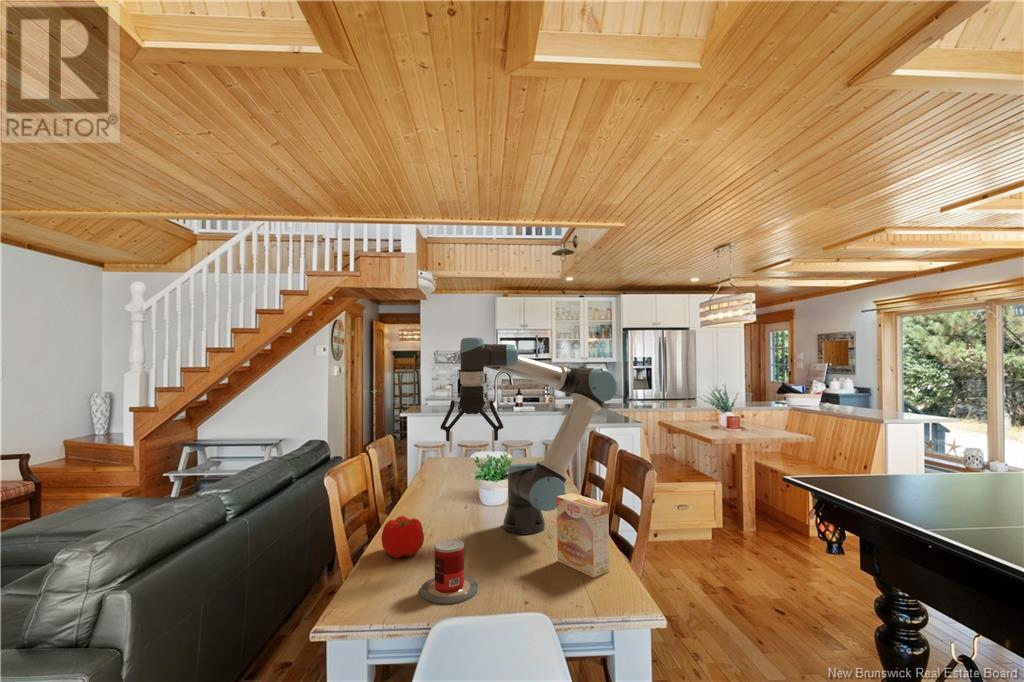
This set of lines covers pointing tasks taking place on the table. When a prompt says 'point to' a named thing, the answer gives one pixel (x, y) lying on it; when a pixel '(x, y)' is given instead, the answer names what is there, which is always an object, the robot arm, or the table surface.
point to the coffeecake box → (583, 534)
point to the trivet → (449, 598)
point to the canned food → (449, 565)
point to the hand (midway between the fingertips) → (472, 451)
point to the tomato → (402, 537)
